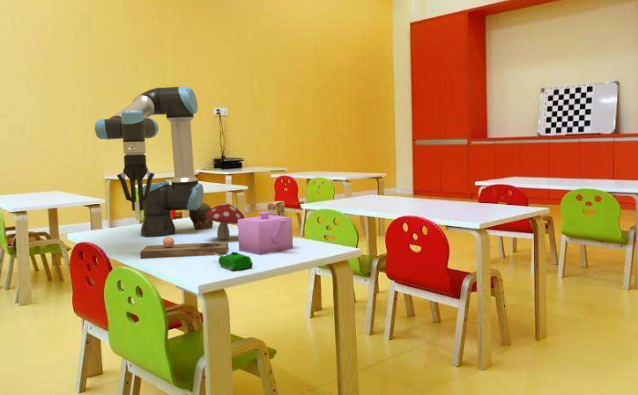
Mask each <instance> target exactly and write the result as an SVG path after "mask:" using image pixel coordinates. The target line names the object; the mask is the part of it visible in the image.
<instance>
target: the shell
mask: <svg viewBox="0 0 638 395" xmlns="http://www.w3.org/2000/svg"><path fill="white" fill-rule="evenodd" d="M210 209H212V208H211V206H210V205H209V204H208V203H206V202H202V204H201V206H200V207H199V208H198V209H196V210H189V211H188V212H189V213H188V217H189V219H190V221H191V223H192V224H193V228H194V229H195V230H209V228H210V229H212V228H213V225H214V224H213V223H214V221H212V220H209V219H208V218H207V217H206V214H207V212H208V211H209V210H210Z"/></svg>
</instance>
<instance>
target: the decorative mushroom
mask: <svg viewBox="0 0 638 395" xmlns="http://www.w3.org/2000/svg"><path fill="white" fill-rule="evenodd" d="M206 217H207V218H208V219H209V220H212V221H213V222H216V223H219V225H218V227H217V232H216V235H217V237H216V238H217V239H218V240H223V241H224V240H228V239H230V237H231V235H230V229H229V225H230V224H231V225H236V224H237V225H238V219H244V218H245V215H244V214H243V213H242V211H241V210H239V209H238V208H237V207H235V206H234V205H232V204H229V203H222V204H219V205H216V206H214V207H212V208H211V209H210V210H209V211H208V212H207V214H206Z"/></svg>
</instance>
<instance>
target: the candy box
mask: <svg viewBox="0 0 638 395" xmlns="http://www.w3.org/2000/svg"><path fill="white" fill-rule="evenodd" d="M285 209H286V208H285V201H284V200H275V201H272V202H268V203H267V212H269V215H275V216H284V217H286V214H285V213H286V211H285Z"/></svg>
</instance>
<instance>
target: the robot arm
mask: <svg viewBox="0 0 638 395" xmlns="http://www.w3.org/2000/svg"><path fill="white" fill-rule="evenodd" d="M198 107H199V106H198V100H197V95H196V93H195V92H194V89H192V87H189V86H170V87H169V86H168V87H167V86H166V87H155V88H151V89H149V90H147V91H144V92H142V93H141V94H138V95H137V96H136V97H134V98H133V100H132V102H131V103H130V104H128V105H127V106H126V107H124V108H123V109H122V110H120V111H118V112H117V113H115V114H114V115H112V116H110V117H109V118H103V119H98V120H96V121H95V124H94V132H95V135H96V137H97V138H98V139H100V140H121V139H122V145H123V146H122V148H123V150H122V151H123V154H124V156H123V162H124V163H123V165H124V166H123V171H122V172H121V173H119V174H117V175H116V176H117V178H118V180H119V181H120V184H121V188H122V190H123V194H124V197H125V200H126V201H129V202H131V210H132V212H134V211H135V213H134V216H135V221H141V220H142V211H143V221H142V224H141V229H140V235H141V236H142V237H161V236H163V237H164V236H170V235H174V234H176V231H177V229H176V226H175V223H174V221H173V219H172V218H173V217H172V216H171V214H172V213H171V211H188V212H189V210H196V209H198V208H199V207H200V206H201V204H202V203H203V200H204V192H205V190H204V187H203V184H202V183H199V178H197V177H196V176H195V168H194V153H193V141H192V140H193V138H192V137H193V136H192V125H191V121H192V120H193V119H194V117H195V116H194V115H195V114H196V113H197V112H198V109H199V108H198ZM156 115H157V116H162V115H166V120H167V121H169V123H170V136H171V146H172V147H171V148H172V149H171V150H172V162H173V173H174V178H173V179H171V184H170V182H169V181H168V180H167V181H161V182H160V181H159V182H155V183H152V181H153V178H154V177H155V173H154V172H152V171H150V170H149V169H148V166H147V157H146V156H147V155H146V153H147V152H146V139H151V138H154V137H156V136H157V134H158V132H159V125H158V123H157V121H156V120H155V119H153V118H150V117H152V116H156ZM145 176H146V177H147V179H146V183H145V185H143V184H144V182H143V181H144V180H143V179H144V178H145ZM126 177H127V179H128V180H129V184H130V190H129V186H128V185H127V181H126V180H127V179H126ZM136 180H137V188H136ZM136 189H137V190H136ZM137 191H138V193H137ZM137 194H138V200H137Z"/></svg>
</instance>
